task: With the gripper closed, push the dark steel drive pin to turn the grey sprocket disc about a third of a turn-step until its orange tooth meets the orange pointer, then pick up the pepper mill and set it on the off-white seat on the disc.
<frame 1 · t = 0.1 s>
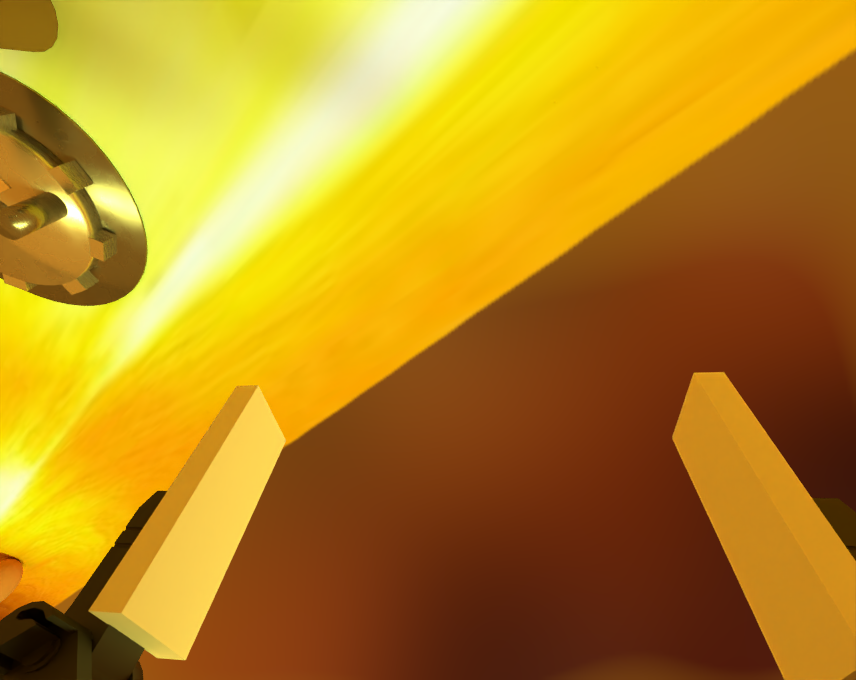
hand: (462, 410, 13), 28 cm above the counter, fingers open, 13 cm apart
egg: (16, 559, 98), on the counter
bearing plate: (22, 202, 41), on the counter
pepper mill: (17, 3, 32), on the counter
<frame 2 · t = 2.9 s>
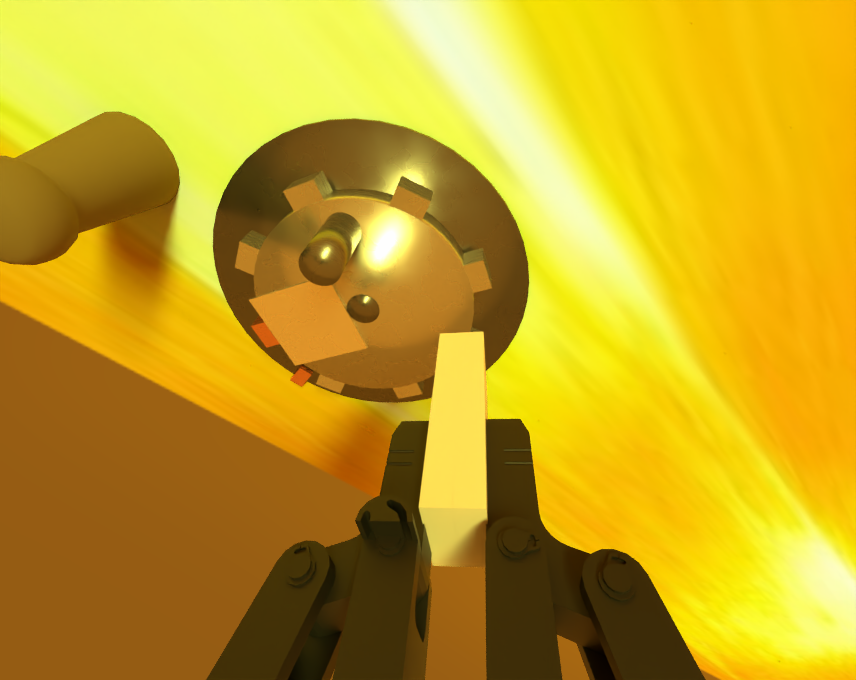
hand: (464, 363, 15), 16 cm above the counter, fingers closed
sprocket: (358, 320, 29), point 4 cm above the counter, hinge at 0.0°
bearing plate: (370, 291, 32), on the counter
pepper mill: (135, 161, 28), on the counter
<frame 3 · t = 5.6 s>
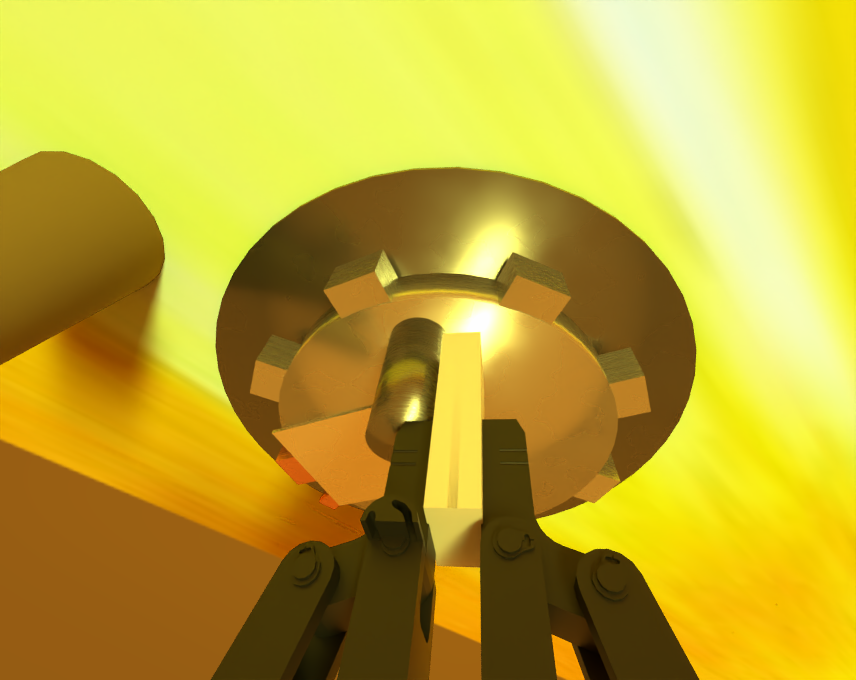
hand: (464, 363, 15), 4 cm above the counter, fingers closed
sprocket: (441, 466, 19), point 4 cm above the counter, hinge at 3.6°, touching gripper
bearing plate: (445, 402, 22), on the counter
pepper mill: (94, 225, 18), on the counter
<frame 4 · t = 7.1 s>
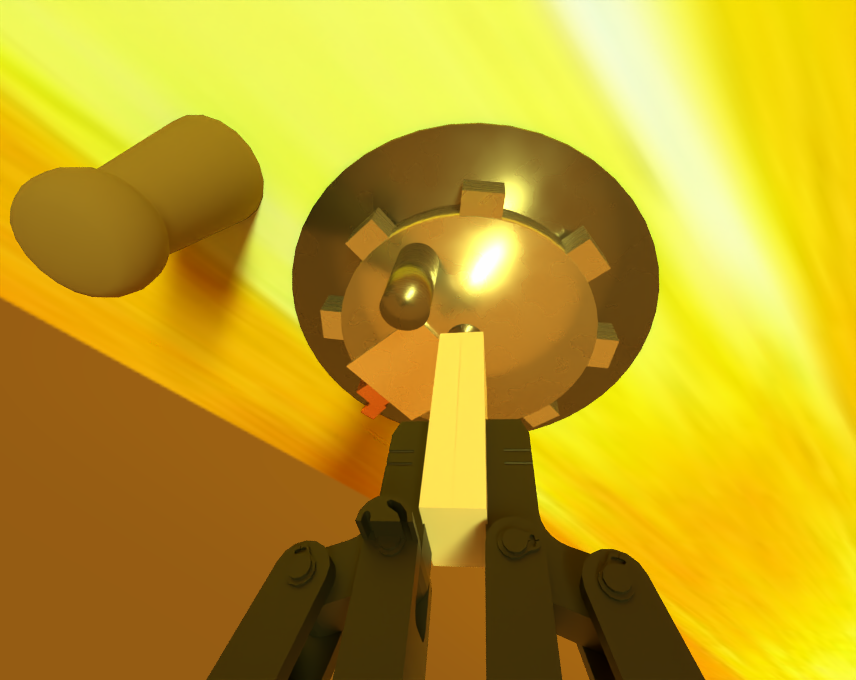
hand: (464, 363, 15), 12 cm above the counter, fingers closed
sprocket: (463, 354, 25), point 4 cm above the counter, hinge at 21.8°
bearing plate: (466, 318, 29), on the counter
pepper mill: (214, 171, 25), on the counter
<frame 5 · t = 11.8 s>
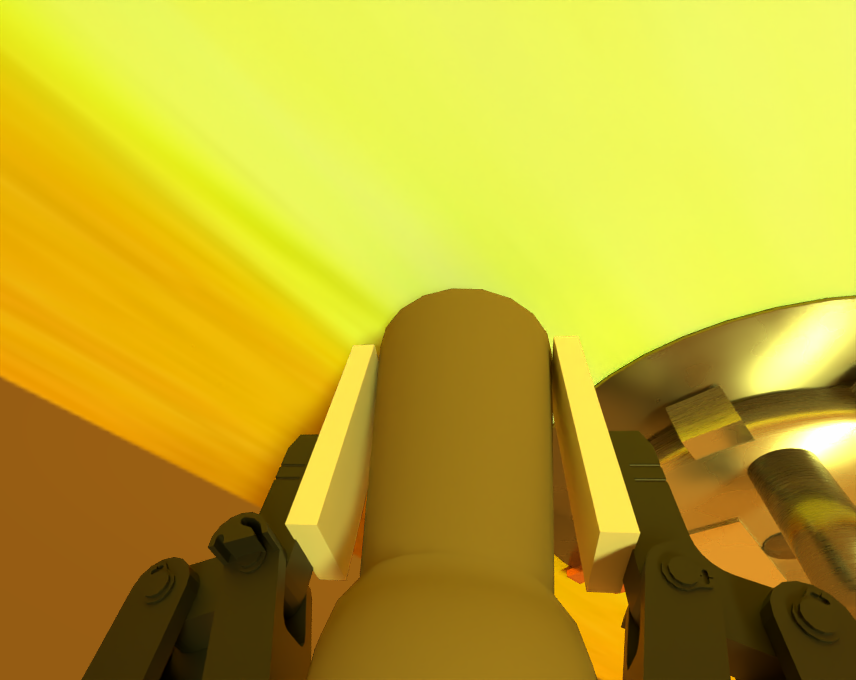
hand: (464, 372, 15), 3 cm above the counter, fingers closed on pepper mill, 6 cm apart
sprocket: (812, 577, 18), point 4 cm above the counter, hinge at 21.8°
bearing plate: (764, 496, 22), on the counter
pepper mill: (464, 358, 15), point 3 cm above the counter, touching gripper
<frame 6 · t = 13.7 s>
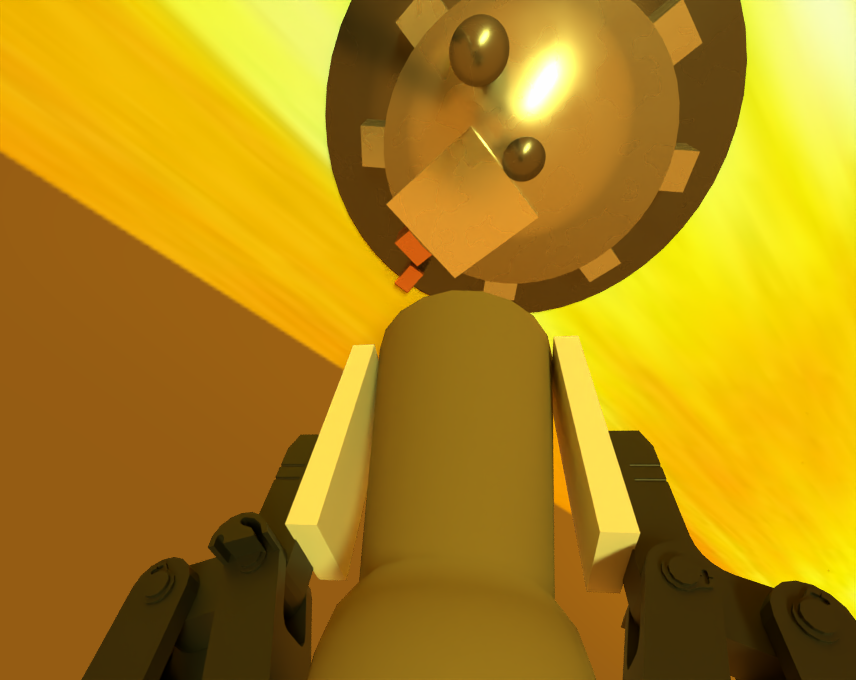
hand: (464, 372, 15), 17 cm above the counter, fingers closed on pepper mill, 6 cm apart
sprocket: (526, 166, 22), point 4 cm above the counter, hinge at 21.8°
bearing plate: (520, 148, 26), on the counter
pepper mill: (464, 360, 15), point 16 cm above the counter, touching gripper
when the fingers open (4 cm above the counter, at t = 15.9 s): pepper mill stays where it is, resting on sprocket.
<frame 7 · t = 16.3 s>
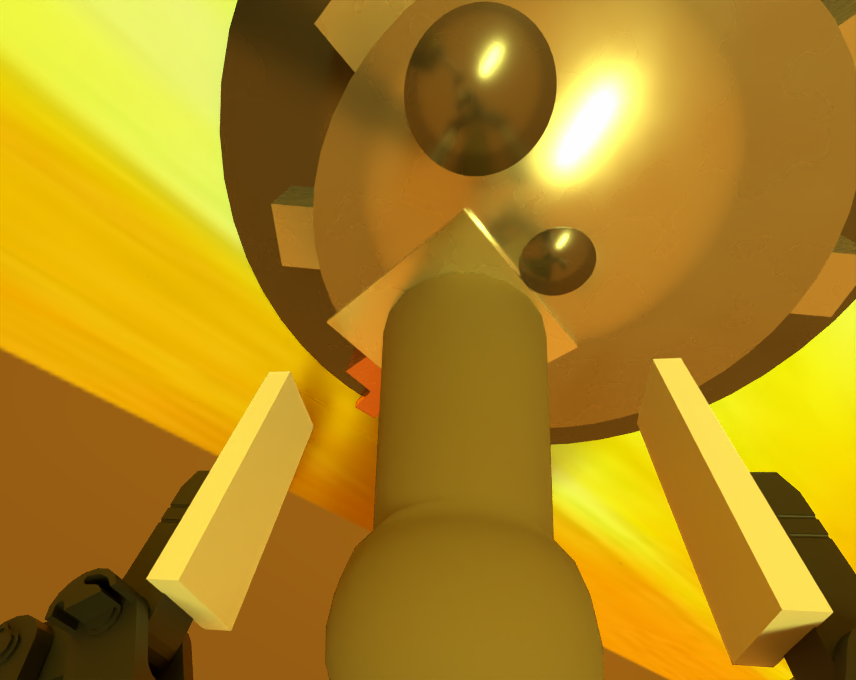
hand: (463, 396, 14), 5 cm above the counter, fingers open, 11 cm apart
sprocket: (564, 285, 12), point 4 cm above the counter, hinge at 21.8°, touching pepper mill
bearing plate: (546, 231, 16), on the counter
pepper mill: (463, 341, 16), point 3 cm above the counter, touching sprocket
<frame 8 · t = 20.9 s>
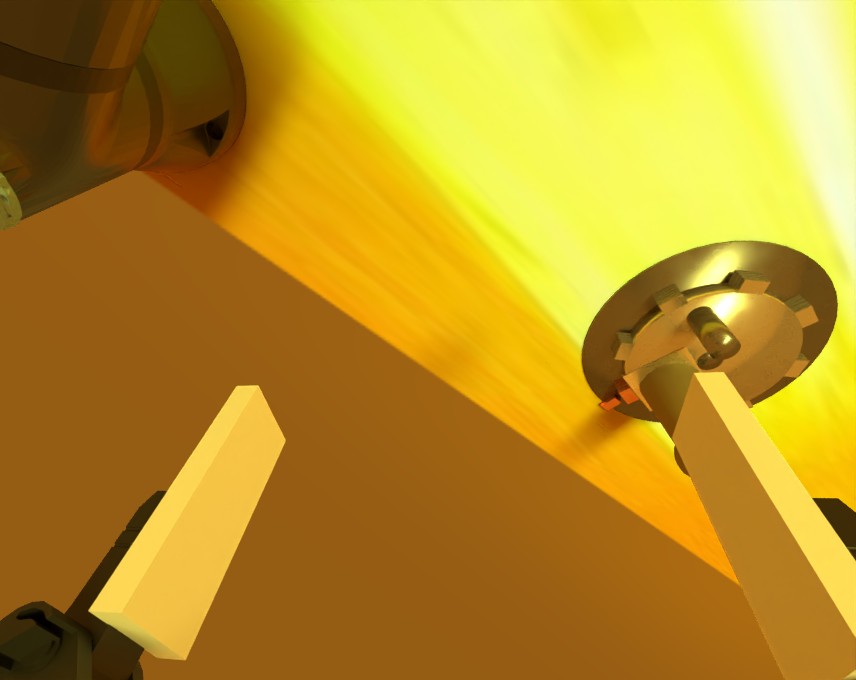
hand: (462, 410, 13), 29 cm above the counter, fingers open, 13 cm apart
sprocket: (716, 370, 42), point 4 cm above the counter, hinge at 21.8°, touching pepper mill
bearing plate: (699, 345, 45), on the counter
pepper mill: (669, 383, 45), point 3 cm above the counter, touching sprocket
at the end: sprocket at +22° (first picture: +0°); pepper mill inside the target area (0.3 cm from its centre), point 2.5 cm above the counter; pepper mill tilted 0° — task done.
